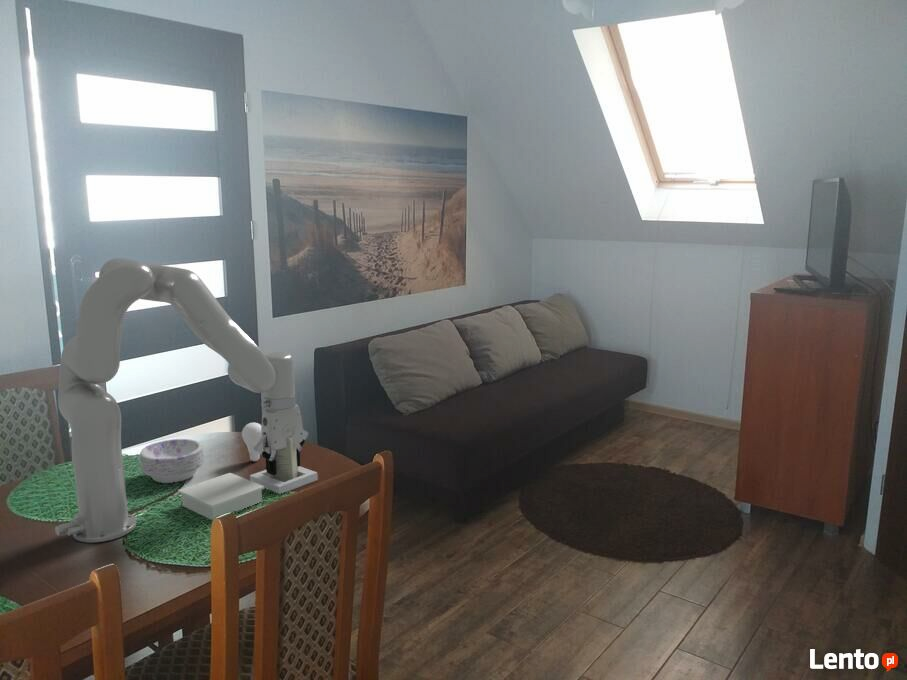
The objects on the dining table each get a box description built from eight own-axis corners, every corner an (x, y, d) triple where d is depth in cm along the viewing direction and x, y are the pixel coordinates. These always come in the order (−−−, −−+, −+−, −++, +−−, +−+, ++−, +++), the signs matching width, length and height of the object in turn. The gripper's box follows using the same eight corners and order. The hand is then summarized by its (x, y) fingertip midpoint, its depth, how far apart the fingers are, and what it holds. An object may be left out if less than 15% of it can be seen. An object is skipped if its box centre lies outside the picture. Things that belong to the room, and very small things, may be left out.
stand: (213, 522, 161) (211, 505, 160) (179, 505, 170) (178, 489, 169) (265, 502, 172) (264, 486, 171) (230, 487, 180) (230, 472, 179)
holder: (279, 494, 176) (279, 486, 176) (250, 482, 183) (249, 475, 183) (317, 479, 185) (317, 472, 185) (288, 469, 193) (287, 462, 192)
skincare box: (298, 478, 186) (296, 433, 184) (293, 485, 182) (291, 439, 179) (275, 477, 187) (272, 432, 184) (269, 484, 182) (266, 438, 180)
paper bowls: (163, 493, 177) (160, 462, 176) (130, 479, 186) (128, 449, 185) (216, 474, 189) (214, 445, 188) (183, 462, 198) (181, 434, 197)
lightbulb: (255, 455, 203) (253, 418, 200) (271, 459, 200) (268, 421, 197) (238, 462, 197) (236, 424, 195) (254, 466, 194) (252, 427, 192)
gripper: (260, 412, 171) (264, 483, 175) (316, 397, 185) (319, 463, 188) (241, 407, 176) (246, 476, 179) (298, 392, 189) (301, 457, 193)
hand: (283, 469), depth 184 cm, fingers closed on skincare box, 6 cm apart
